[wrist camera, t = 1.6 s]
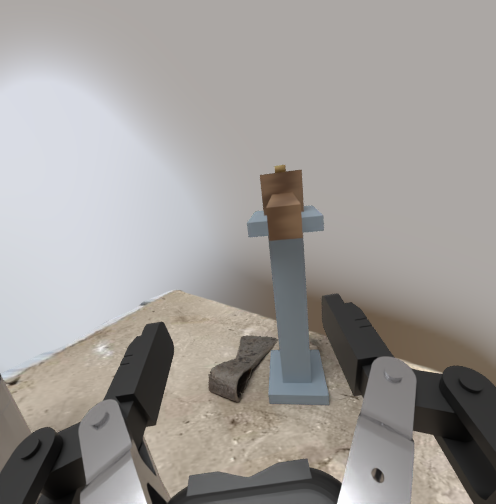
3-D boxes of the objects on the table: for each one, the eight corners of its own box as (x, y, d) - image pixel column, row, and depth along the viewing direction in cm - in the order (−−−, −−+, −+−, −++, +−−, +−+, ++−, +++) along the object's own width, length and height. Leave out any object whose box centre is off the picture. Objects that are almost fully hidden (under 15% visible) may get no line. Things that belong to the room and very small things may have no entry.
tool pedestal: (269, 403, 41) (247, 223, 32) (271, 357, 52) (255, 211, 42) (329, 405, 40) (323, 215, 30) (319, 357, 50) (312, 205, 41)
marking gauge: (252, 242, 22) (243, 162, 20) (266, 210, 42) (261, 169, 40) (320, 236, 21) (317, 151, 19) (300, 207, 41) (298, 164, 39)
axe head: (244, 323, 63) (280, 329, 58) (245, 341, 63) (281, 348, 59) (195, 370, 44) (242, 383, 40) (197, 394, 45) (244, 410, 41)
